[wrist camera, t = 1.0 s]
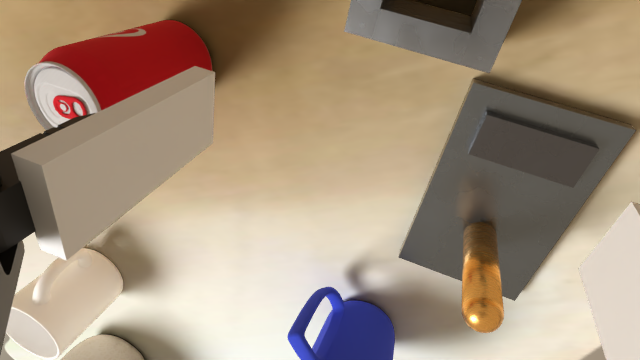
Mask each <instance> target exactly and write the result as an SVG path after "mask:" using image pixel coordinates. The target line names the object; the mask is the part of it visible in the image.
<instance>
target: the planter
mask: <svg viewBox="0 0 640 360" xmlns="http://www.w3.org/2000/svg"><path fill="white" fill-rule="evenodd" d="M61 360H144V358H143V356H142V355H141V354H140V352H139V351H138V350H137V349H136V348H135V347H133V346H132V345H131V344H129V343H128V342H126V341H125V340H123V339H121V338H119V337H116V336H112V335H96V336H92V337H90V338H88V339H86V340H84V341H82V342H81V343H79V344H78V345H76V346H75V347H74V348H73V349H71V350H70V351H69V352H68V353H67V354H66V355H65V356H64V357H63V358H62V359H61Z"/></svg>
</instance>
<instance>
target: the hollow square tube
mask: <svg viewBox="0 0 640 360" xmlns="http://www.w3.org/2000/svg"><path fill="white" fill-rule="evenodd" d="M521 1H522V0H477V2H476V5H475V7H474V10H473V12H472V15H471V16H468V15H465V14H461V13H457V12H453V11H450V10H446V9H442V8H438V7H435V6H431V5H427V4H423V3H420V2H416V1H412V0H351V3H350V8H349V12H348V17H347V21H346V26H345V30H344V32H348V33H351V34H355V35H358V36H362V37H365V38H369V39H372V40H376V41H379V42H383V43H386V44H390V45H393V46H397V47H400V48H404V49H407V50H410V51H414V52H417V53H421V54H424V55H428V56H431V57H435V58H438V59H442V60H445V61H449V62H452V63H456V64H459V65H463V66H466V67H470V68H473V69H477V70H480V71H484V72H487V73H490V71H491V69H492V66H493V64H494V62H495V60H496V57H497V55H498V53H499V51H500V48H501V46H502V44H503V42H504V39H505V37H506V35H507V33H508V30H509V28H510V26H511V24H512V21H513V19H514V17H515V15H516V12H517V10H518V8H519V6H520V3H521Z"/></svg>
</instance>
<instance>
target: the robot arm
mask: <svg viewBox="0 0 640 360" xmlns="http://www.w3.org/2000/svg"><path fill="white" fill-rule="evenodd" d="M214 94H215V72H213V71H210V70H207V69H203V68H200V67H197V66H194V67H192V68H190V69H187V70H185V71H183V72H181V73H179V74H177V75H175V76H173V77H171V78H169V79H166V80H164V81H162V82H160V83H158V84H156V85H154V86H152V87H150V88H148V89H146V90H143V91H141V92H139V93H137V94H135V95H133V96H131V97H129V98H127V99H125V100H122V101H120V102H118V103H116V104H114V105H112V106H110V107H108V108H106V109H104V110H101V111H99V112H97V113H92V114H88V115H83V116H79V117H74V118H72V119H70V120H68V121H66V122H64V123H61V124H59V125H58V127H57V128H56V127H53V128H51V129H48V130H46V131H44V133H43V134H41V133H40V134H38V135H36V136H33V137H31V138H29V139H27V140H25V141H23V142H20V143H18V144H16V145H14V146H12V147H10V148H7V149H5V150H3V151H1V152H0V354H1V350H2V345H3V341H4V336H5V333H6V328H7V324H8V320H9V316H10V311H11V307H12V303H13V298H14V294H15V290H16V286H17V281H18V277H19V273H20V268H21V264H22V260H23V256H24V244H23V241H22V240H23V239H24V238H26V237H27V236H29V235H30V234H32V233H33V232H35V234H36V237H37V240H38V244H39V247H40V250H43V251H45V252H47V253H50V254H52V255H55V256H57V257H59V258H62V259H64V260H66V261H67V260H68V259H69V258H70V257H72V256H73V255H74V254H75V253H77V252H78V251H79V250H80V249H82V248H83V247H84V246H85V245H87V244H88V243H89V242H90V241H92V240H93V239H94V238H95V237H96V236H98V235H99V234H100V233H101V232H103V231H104V230H105V229H106V228H108V227H109V226H110V225H111V224H113V223H114V222H115V221H116V220H118V219H119V218H120V217H121V216H123V215H124V214H125V213H126V212H128V211H129V210H130V209H131V208H133V207H134V206H135V205H136V204H138V203H139V202H140V201H141V200H143V199H144V198H145V197H146V196H148V195H149V194H150V193H151V192H153V191H154V190H155V189H156V188H157V187H159V186H160V185H161V184H162V183H164V182H165V181H166V180H167V179H169V178H170V177H171V176H172V175H174V174H175V173H176V172H177V171H179V170H180V169H181V168H182V167H184V166H185V165H186V164H187V163H189V162H190V161H191V160H192V159H194V158H195V157H196V156H197V155H199V154H200V153H201V152H202V151H204V150H205V149H206V148H207V147H209V146H210V145H211V144H212V143H213V127H214ZM578 269H579V273H580V276H581V279H582V282H583V286H584V289H585V292H586V295H587V299H588V302H589V305H590V309H591V312H592V315H593V318H594V322H595V325H596V328H597V331H598V335H599V338H600V341H601V345H602V348H603V351H604V354H605V358H606V360H640V204H638V203H635V202H631V203H630V204H629V205H628V206H627V208H626V209H625V210H624V211H623V213H622V214H621V215H620V216H619V218H618V219H617V220H616V221H615V223H614V224H613V225H612V226H611V228H610V229H609V230H608V231H607V233H606V234H605V235H604V237H603V238H602V239H601V240H600V242H599V243H598V244H597V245H596V247H595V248H594V249H593V250H592V252H591V253H590V254H589V255H588V257H587V258H586V259H585V260H584V262H583V263H582V264H581V265H580V267H579V268H578Z"/></svg>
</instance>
